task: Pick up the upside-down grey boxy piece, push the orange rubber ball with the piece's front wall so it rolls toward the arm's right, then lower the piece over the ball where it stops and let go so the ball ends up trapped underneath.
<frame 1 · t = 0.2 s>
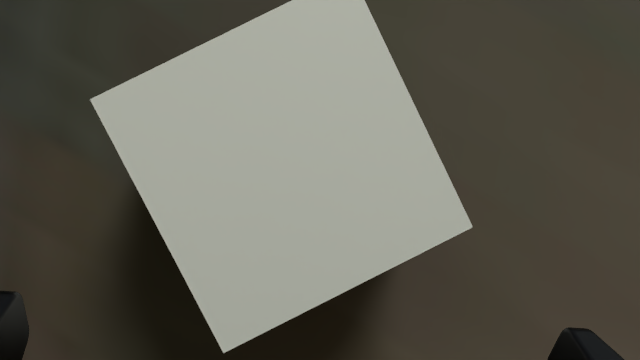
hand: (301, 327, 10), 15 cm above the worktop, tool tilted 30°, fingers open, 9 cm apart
grey boxy piece: (285, 157, 25), on the worktop
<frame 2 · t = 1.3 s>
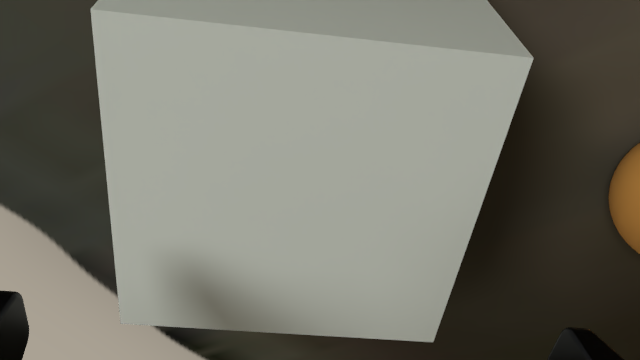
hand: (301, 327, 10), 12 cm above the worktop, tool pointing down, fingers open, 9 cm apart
grey boxy piece: (297, 46, 20), on the worktop
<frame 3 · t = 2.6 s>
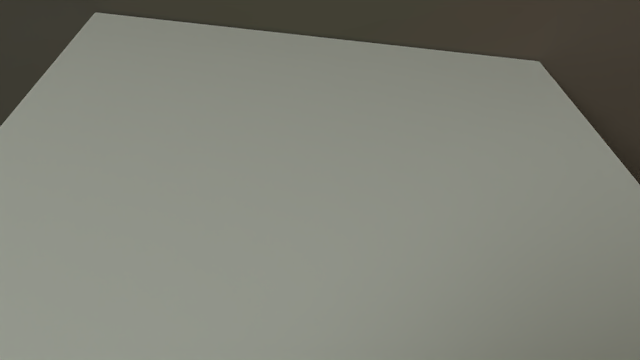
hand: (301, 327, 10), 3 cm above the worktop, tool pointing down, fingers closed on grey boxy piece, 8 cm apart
grey boxy piece: (301, 213, 12), on the worktop, touching gripper
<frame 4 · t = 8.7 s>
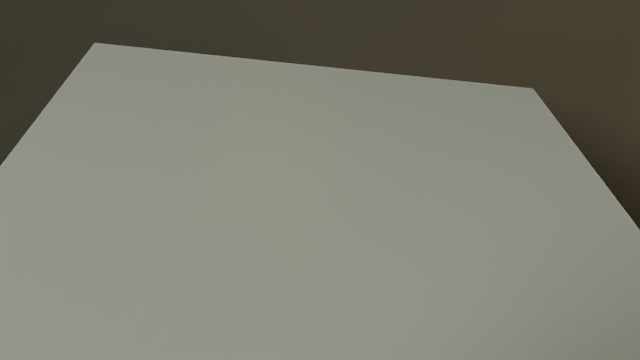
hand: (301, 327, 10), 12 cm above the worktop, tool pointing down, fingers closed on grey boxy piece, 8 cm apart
grey boxy piece: (298, 236, 12), point 9 cm above the worktop, touching gripper
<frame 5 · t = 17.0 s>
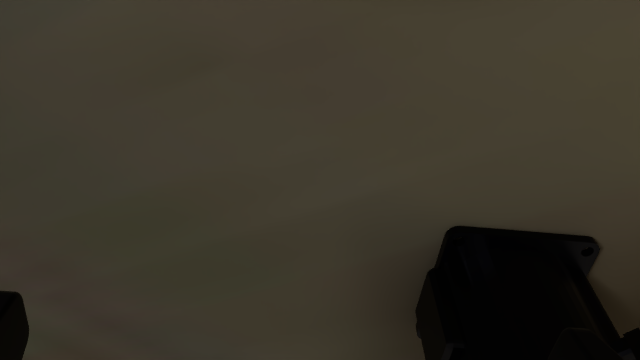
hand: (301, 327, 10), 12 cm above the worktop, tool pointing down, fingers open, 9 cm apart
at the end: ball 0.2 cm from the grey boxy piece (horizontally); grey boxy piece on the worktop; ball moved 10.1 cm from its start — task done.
